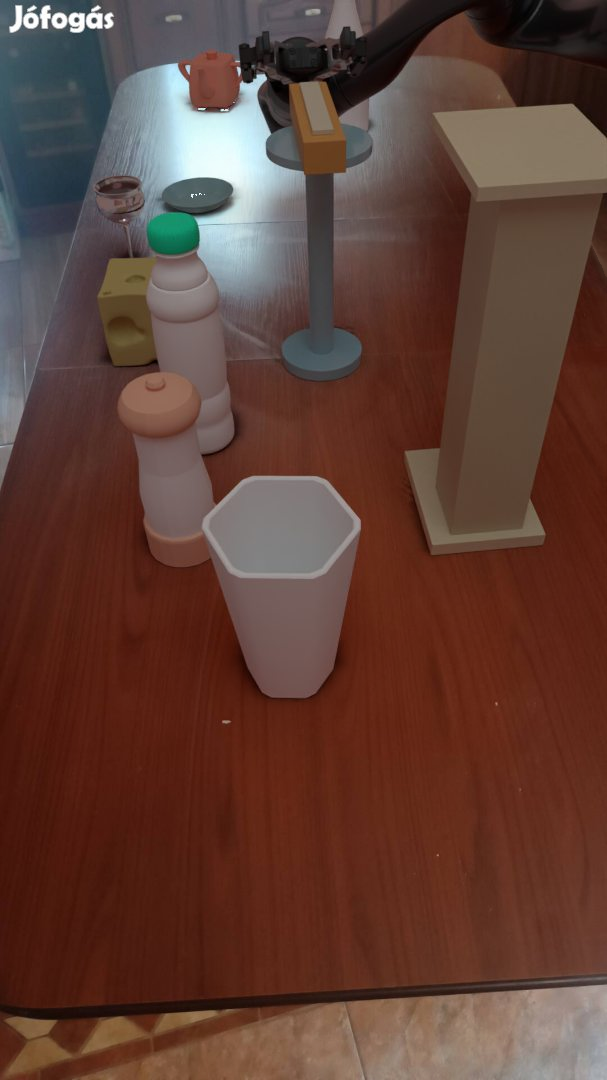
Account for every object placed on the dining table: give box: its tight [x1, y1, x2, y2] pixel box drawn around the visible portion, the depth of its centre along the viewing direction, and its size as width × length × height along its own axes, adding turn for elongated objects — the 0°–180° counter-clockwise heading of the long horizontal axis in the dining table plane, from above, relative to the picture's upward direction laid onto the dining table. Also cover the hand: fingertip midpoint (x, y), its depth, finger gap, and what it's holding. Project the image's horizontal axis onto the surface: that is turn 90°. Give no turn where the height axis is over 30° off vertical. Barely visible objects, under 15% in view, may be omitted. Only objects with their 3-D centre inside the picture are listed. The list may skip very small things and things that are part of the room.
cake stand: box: [265, 123, 374, 382], centre depth 91 cm, size 11×11×26 cm
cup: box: [201, 475, 362, 699], centre depth 62 cm, size 11×10×17 cm
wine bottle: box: [324, 0, 370, 132], centre depth 143 cm, size 10×10×30 cm
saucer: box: [161, 176, 234, 214], centre depth 132 cm, size 12×12×2 cm
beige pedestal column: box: [403, 103, 607, 556], centre depth 69 cm, size 14×11×35 cm
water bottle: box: [146, 211, 235, 456], centre depth 81 cm, size 7×7×25 cm
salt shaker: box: [116, 371, 218, 568], centre depth 72 cm, size 7×7×19 cm
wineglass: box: [92, 174, 146, 258], centre depth 115 cm, size 7×7×12 cm
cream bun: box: [289, 81, 347, 176], centre depth 81 cm, size 17×4×4 cm, turn 5°
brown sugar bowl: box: [177, 49, 243, 110], centre depth 163 cm, size 14×12×10 cm
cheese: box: [96, 256, 158, 367], centre depth 100 cm, size 10×11×10 cm
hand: (307, 39), depth 84 cm, fingers open, 8 cm apart
